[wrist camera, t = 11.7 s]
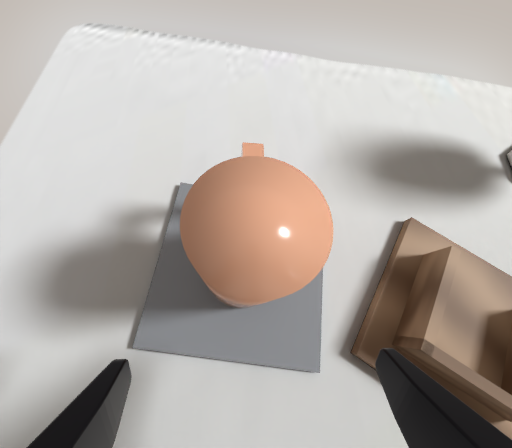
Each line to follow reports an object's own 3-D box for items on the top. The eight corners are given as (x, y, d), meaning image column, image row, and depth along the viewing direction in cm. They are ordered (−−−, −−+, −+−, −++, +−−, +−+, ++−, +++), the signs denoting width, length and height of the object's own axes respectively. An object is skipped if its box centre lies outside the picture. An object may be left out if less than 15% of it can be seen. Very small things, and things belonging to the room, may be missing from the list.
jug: (281, 307, 19) (343, 299, 9) (202, 308, 19) (170, 301, 8) (277, 207, 22) (318, 118, 12) (208, 204, 22) (192, 107, 12)
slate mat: (317, 371, 18) (319, 372, 18) (134, 347, 18) (132, 347, 17) (322, 209, 24) (324, 207, 23) (181, 185, 23) (180, 182, 22)
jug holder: (515, 464, 18) (592, 504, 14) (350, 352, 19) (380, 362, 15) (536, 299, 23) (596, 296, 19) (404, 221, 24) (436, 204, 20)
